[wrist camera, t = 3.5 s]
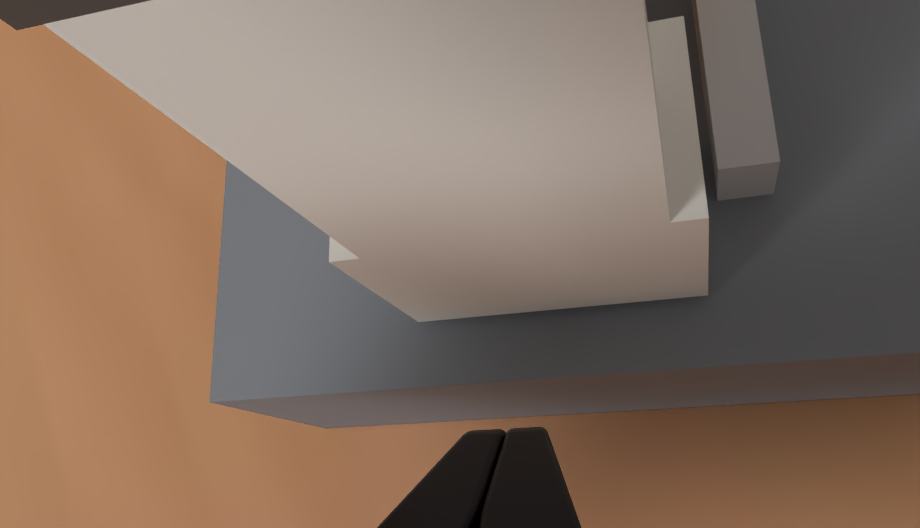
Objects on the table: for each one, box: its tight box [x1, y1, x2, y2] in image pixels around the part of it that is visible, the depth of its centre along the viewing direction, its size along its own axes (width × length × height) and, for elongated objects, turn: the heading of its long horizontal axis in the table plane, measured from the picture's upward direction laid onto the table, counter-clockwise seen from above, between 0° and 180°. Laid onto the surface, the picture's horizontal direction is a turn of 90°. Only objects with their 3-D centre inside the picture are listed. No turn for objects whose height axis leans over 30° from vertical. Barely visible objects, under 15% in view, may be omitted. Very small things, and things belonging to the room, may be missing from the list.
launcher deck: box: [210, 0, 920, 428], centre depth 15 cm, size 8×12×6 cm, turn 92°
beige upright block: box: [0, 0, 709, 322], centre depth 8 cm, size 2×4×9 cm, turn 92°
